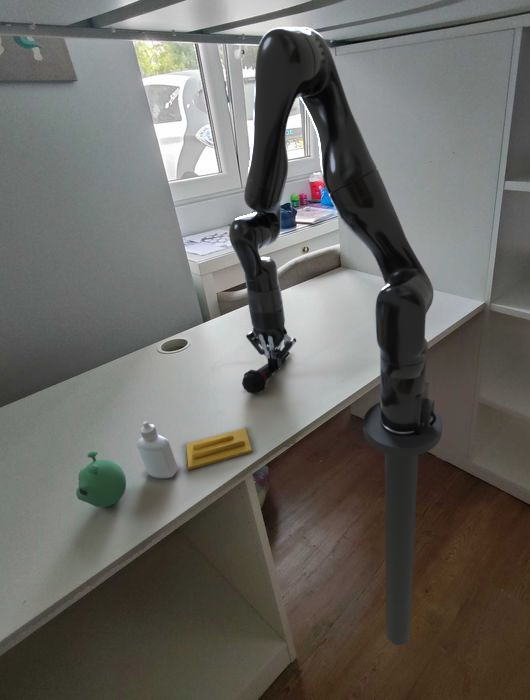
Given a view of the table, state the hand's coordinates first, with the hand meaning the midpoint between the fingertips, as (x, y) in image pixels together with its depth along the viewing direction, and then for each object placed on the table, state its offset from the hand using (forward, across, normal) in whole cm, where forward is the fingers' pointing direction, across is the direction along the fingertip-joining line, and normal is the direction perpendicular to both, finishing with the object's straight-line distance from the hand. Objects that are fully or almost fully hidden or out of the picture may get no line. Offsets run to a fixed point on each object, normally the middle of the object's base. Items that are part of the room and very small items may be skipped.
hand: (275, 369), depth 108 cm
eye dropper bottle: (+2, -3, -35) cm, 35 cm away
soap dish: (+2, +3, -26) cm, 26 cm away
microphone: (+2, -1, 0) cm, 3 cm away
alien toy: (+2, -7, -44) cm, 45 cm away
